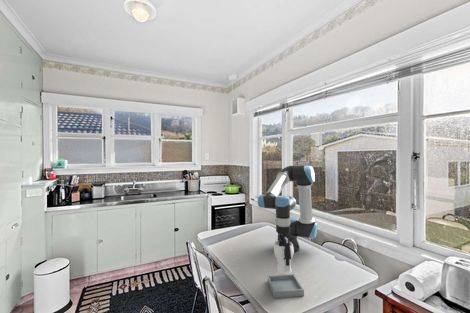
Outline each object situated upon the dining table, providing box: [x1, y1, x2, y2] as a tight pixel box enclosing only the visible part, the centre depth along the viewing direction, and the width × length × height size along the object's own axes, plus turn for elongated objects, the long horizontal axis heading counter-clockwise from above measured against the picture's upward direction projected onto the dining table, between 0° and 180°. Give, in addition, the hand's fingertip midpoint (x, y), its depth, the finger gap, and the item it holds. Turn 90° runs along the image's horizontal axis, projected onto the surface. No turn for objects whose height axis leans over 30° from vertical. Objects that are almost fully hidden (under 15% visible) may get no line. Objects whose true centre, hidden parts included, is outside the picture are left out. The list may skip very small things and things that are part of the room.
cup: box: [273, 240, 295, 275], centre depth 122 cm, size 11×11×15 cm
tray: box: [267, 273, 305, 299], centre depth 122 cm, size 15×15×3 cm
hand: (284, 265), depth 122 cm, fingers closed on cup, 11 cm apart
